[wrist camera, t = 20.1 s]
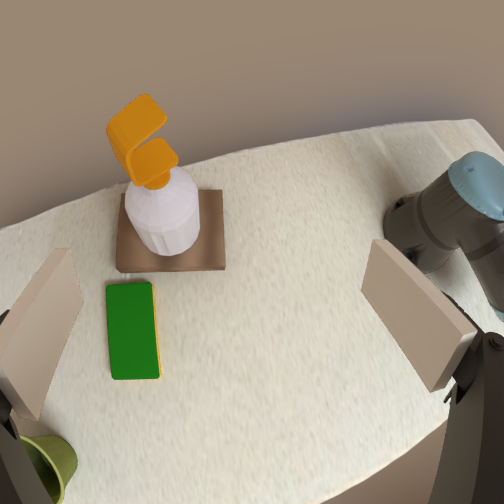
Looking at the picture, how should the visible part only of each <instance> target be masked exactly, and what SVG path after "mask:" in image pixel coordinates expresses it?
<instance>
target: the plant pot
mask: <svg viewBox="0 0 504 504" xmlns="http://www.w3.org/2000/svg"><path fill="white" fill-rule="evenodd" d="M19 436H20V438H21V440H22V443H23V445H24V447H25V449H26V452H27V454H28V456H29V458H30V460H31V462H32V464H33V466H34V468H35V470H36V472H37V474H38V476H39V478H40V480H41V482H42V484H43V485H44V487H45V489H46V491H47V493H48V494H49V496H50V498H51V499H52V501H53V503H54V504H61V503H62V501H63V499H64V491H65V487H66V485H67V484H68V482H69V480H70V479H71V477H72V476H73V474H74V473H75V471H76V469H77V463H78V460H77V456H76V454H75V452H74V450H73V448H72V447H71V446H70V445H69V444H68V443H67V442H66V441H64V440H63V439H61V438H59V437H57V436H43V437H25V436H22V435H19ZM46 458H47V459H48V460H49V462H50V463H49V462H48V461H47V459H46Z"/></svg>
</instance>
